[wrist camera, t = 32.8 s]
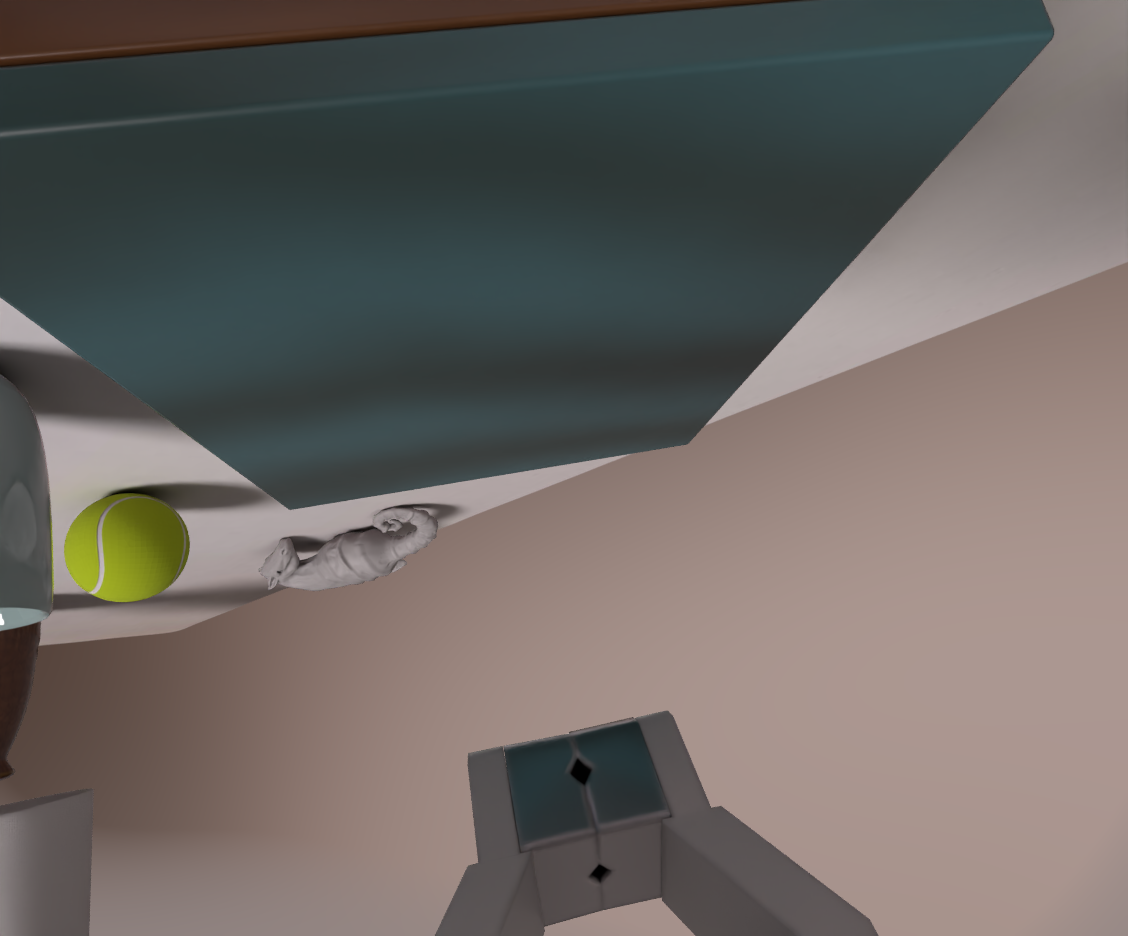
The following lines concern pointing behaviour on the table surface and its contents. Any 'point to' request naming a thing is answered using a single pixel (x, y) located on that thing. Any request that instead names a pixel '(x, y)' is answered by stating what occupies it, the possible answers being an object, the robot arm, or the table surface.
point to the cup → (23, 515)
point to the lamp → (39, 822)
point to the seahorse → (352, 554)
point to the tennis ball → (126, 547)
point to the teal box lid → (476, 223)
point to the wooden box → (267, 22)
